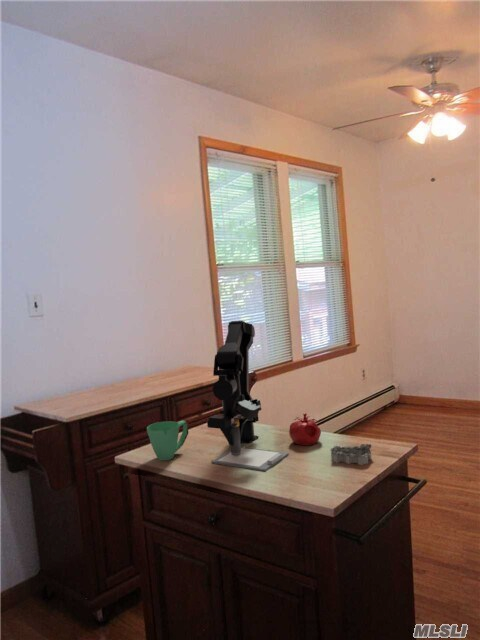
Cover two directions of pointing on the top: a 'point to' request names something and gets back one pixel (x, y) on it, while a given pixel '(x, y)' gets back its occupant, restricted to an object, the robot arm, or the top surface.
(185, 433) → the mug
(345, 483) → the top surface
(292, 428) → the pomegranate
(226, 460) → the whiteboard
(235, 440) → the marker
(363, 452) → the egg carton
